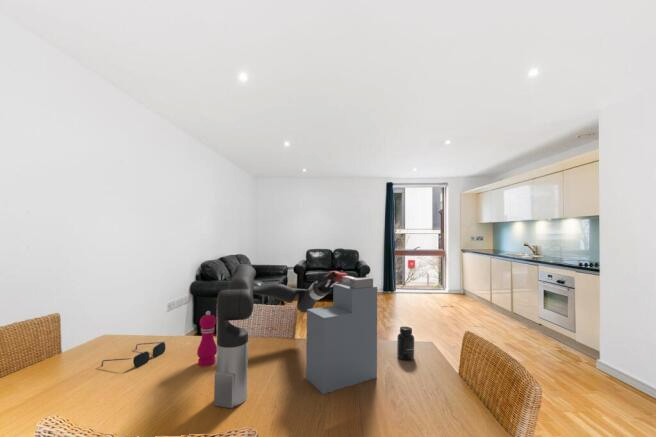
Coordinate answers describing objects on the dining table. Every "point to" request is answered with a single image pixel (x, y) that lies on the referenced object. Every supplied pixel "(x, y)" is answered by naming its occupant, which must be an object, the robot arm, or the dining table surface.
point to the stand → (342, 339)
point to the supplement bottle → (405, 344)
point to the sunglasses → (145, 355)
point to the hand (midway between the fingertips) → (338, 273)
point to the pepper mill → (207, 341)
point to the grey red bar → (353, 280)
